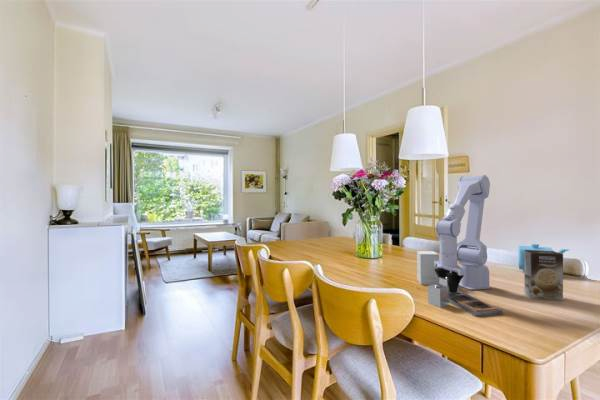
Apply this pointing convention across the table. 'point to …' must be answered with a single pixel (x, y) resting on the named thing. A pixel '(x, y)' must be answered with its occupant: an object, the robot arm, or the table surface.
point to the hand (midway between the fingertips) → (448, 290)
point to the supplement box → (427, 267)
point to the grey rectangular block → (447, 284)
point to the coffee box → (543, 275)
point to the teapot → (533, 247)
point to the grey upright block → (438, 295)
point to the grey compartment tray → (473, 302)
